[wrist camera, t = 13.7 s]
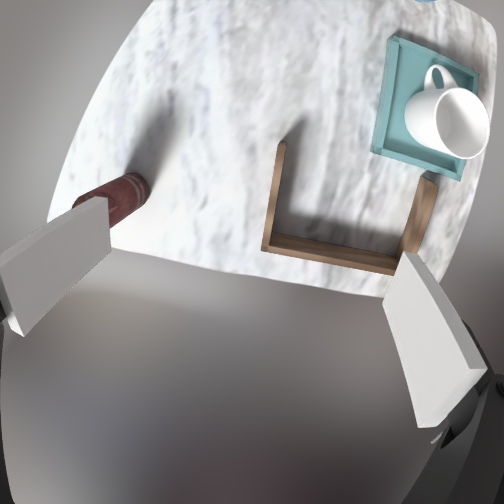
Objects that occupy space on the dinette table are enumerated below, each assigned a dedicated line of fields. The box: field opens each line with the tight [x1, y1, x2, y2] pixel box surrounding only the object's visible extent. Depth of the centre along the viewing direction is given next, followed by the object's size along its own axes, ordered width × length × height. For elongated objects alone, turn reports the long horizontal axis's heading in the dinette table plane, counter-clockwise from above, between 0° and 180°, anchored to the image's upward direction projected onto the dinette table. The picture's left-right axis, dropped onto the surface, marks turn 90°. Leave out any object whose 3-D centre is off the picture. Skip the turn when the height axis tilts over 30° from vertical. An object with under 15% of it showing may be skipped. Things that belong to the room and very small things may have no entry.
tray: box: [370, 35, 479, 181], centre depth 32 cm, size 18×15×3 cm
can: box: [72, 173, 149, 229], centre depth 39 cm, size 6×6×14 cm
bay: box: [261, 142, 439, 276], centre depth 40 cm, size 15×23×5 cm, turn 82°
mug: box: [404, 64, 490, 159], centre depth 28 cm, size 9×12×11 cm
